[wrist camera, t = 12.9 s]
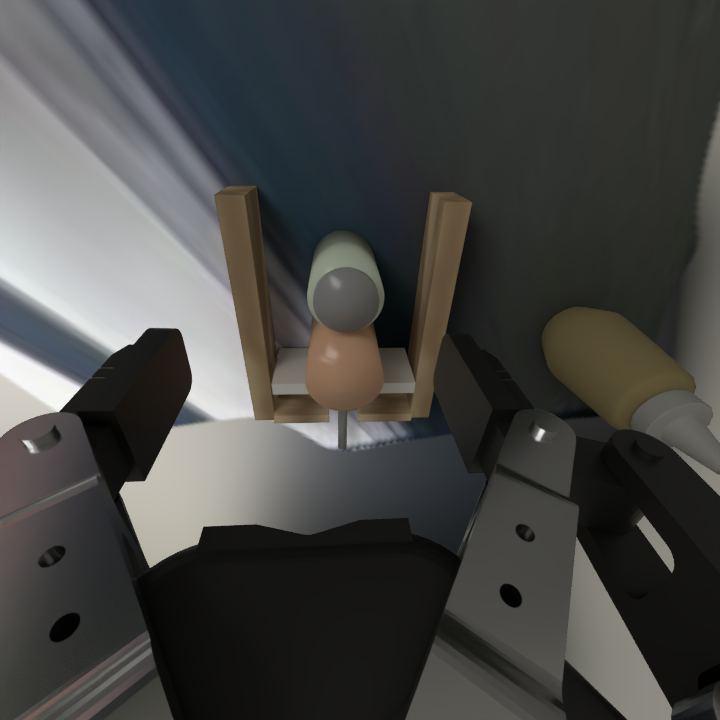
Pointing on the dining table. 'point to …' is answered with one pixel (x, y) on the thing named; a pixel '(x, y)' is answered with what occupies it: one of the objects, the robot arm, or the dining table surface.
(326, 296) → the sage jar
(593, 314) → the squeeze bottle
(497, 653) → the robot arm
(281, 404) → the lane
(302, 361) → the pusher plate
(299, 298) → the dining table surface
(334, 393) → the terracotta jar
